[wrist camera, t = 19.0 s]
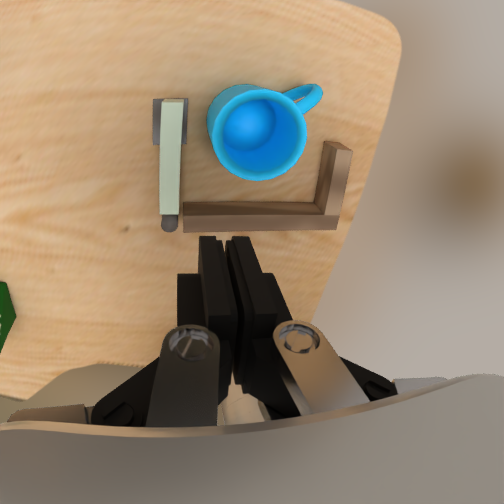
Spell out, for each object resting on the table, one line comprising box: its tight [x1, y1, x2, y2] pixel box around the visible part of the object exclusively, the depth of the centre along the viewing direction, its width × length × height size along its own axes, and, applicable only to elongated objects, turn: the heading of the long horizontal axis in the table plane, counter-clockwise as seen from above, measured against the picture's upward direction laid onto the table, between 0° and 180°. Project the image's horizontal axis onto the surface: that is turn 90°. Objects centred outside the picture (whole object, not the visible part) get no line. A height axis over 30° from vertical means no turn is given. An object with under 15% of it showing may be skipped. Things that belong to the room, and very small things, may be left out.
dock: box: [153, 98, 353, 233], centre depth 33 cm, size 14×21×4 cm, turn 85°
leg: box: [159, 99, 184, 214], centre depth 30 cm, size 12×2×4 cm, turn 173°
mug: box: [206, 84, 323, 181], centre depth 28 cm, size 12×8×8 cm
